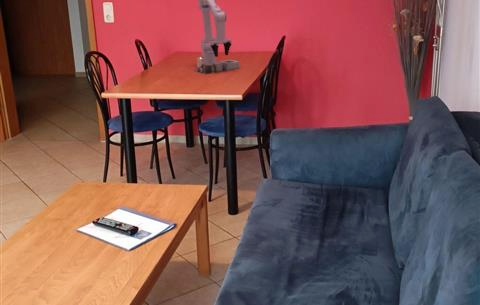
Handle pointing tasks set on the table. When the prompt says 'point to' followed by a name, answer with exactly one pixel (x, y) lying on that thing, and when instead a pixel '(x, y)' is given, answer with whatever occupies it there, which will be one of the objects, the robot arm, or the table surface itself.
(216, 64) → the pin guide
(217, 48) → the robot arm
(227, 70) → the base plate
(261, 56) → the table surface
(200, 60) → the peg
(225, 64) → the socket
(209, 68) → the pin
